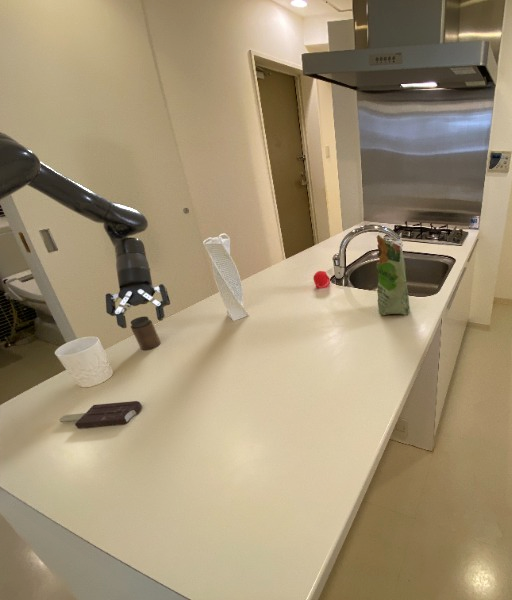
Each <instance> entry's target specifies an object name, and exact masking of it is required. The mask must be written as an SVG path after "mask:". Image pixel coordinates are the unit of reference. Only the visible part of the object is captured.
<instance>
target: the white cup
mask: <svg viewBox="0 0 512 600" xmlns="http://www.w3.org/2000/svg"><path fill="white" fill-rule="evenodd" d="M54 355H55V356H56V357H57V359H58V361H59V362H60V363H61V365H62V366H63V367H64V369H65V370H66V371H67V373H68V374H69V376H70V377H71V378H72V379H73V380H74V381H75V383H76V384H77V386H79V387H81V388H91V387H95V386H98V385H100V384H103V383H104V382H106V381H108V380H109V379H110V378H111V377H112V376H113V374H114V370H113V368H112V366H111V362H110V361H109V358H108V355H107V353H106V351H105V349H104V346H103V345H102V342H101V340H100V338H99V337H97V336H93V335H92V336H90V335H89V336H84V337H79V338H76V339H73V340H70V341H68V342H66V343H63V344H62V345H60V346H58V347H57V348H56V349H55V350H54Z"/></svg>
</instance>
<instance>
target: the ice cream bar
mask: <svg viewBox="0 0 512 600" xmlns="http://www.w3.org/2000/svg"><path fill="white" fill-rule="evenodd" d="M142 408H143V406H142V404H141V402H140V401H138V400H131V401H119V402H111V403H109V402H108V403H98V404H93V405H92V406H90V408H89V409H88V410H87V411H86V412H83V413H82V412H81V413H71V414H64V415H63V416H61V417H60V418H59V419H58V420H59V422H60V423H70V422H71V423H73V422H75V424H74V425H75V427H76V428H77V429H78V430H79V429H81V430H82V429H90V428H101V427H112V426H121V425H122V426H123V425H126V424H127V423H128V422H129V421H130V420H131V419H132V418H133V417H135V416H137V415H139V413H140V412H141V410H142Z"/></svg>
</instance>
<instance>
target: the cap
mask: <svg viewBox="0 0 512 600" xmlns="http://www.w3.org/2000/svg"><path fill="white" fill-rule="evenodd" d="M312 279H313V283H314V285H315V288H316V289H319V290H323V289H326V288H328V287H329V286H330V285H331V279H330V277H329V276H328V274H327V272H326V271H324V270H319V271H316V272H315V273H314V274H313V278H312Z"/></svg>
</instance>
